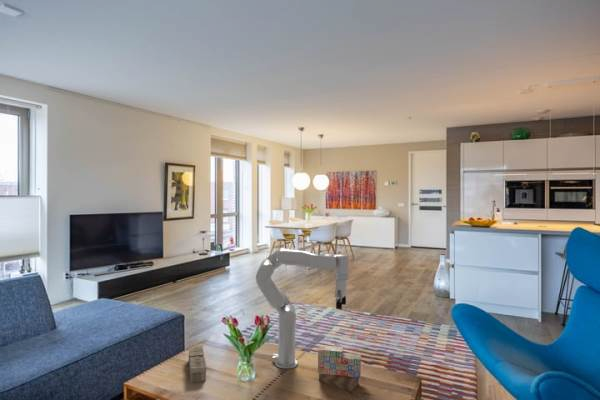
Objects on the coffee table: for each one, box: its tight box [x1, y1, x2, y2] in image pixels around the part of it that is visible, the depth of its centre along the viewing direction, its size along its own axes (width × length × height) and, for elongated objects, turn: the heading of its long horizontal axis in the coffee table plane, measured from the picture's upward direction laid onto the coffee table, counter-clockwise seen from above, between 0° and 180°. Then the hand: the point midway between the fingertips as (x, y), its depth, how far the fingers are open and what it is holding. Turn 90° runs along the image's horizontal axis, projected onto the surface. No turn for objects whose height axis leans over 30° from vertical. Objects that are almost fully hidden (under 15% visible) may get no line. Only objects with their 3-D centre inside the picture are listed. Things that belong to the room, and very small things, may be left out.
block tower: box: [188, 345, 207, 384], centre depth 195 cm, size 8×8×29 cm
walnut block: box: [318, 373, 360, 392], centre depth 184 cm, size 18×9×5 cm, turn 56°
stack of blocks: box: [317, 344, 362, 379], centre depth 184 cm, size 21×6×12 cm, turn 78°
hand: (341, 306), depth 205 cm, fingers open, 9 cm apart
